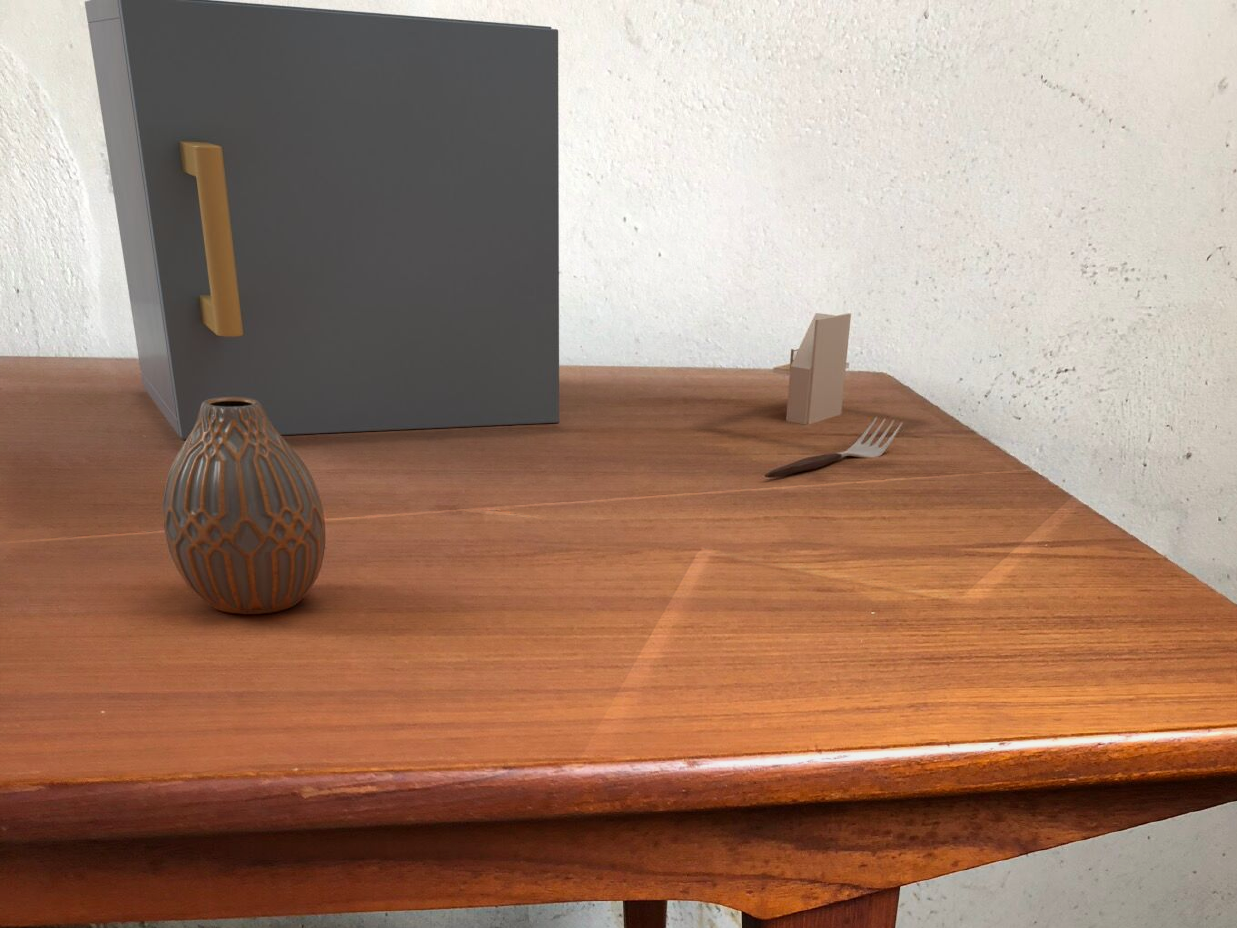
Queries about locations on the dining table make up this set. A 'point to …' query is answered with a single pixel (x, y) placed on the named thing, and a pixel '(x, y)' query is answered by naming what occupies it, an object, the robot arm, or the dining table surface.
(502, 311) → the cupboard door
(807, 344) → the architectural model
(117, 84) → the cupboard
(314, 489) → the vase
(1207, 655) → the dining table surface
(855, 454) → the fork
